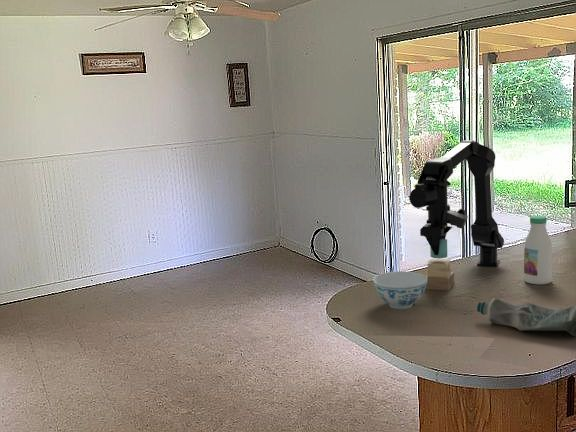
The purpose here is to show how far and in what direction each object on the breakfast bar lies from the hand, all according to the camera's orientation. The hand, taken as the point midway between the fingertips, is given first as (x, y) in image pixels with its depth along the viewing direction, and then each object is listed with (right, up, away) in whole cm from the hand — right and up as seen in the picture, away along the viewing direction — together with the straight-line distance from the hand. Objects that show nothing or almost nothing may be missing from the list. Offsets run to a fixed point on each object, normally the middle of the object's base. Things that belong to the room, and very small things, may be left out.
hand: (438, 252), depth 185 cm
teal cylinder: (0, -1, 0) cm, 1 cm away
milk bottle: (+30, -9, 0) cm, 31 cm away
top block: (0, -7, +1) cm, 7 cm away
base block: (+1, -11, +2) cm, 11 cm away
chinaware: (-14, -14, -13) cm, 24 cm away
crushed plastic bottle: (+14, -17, -34) cm, 41 cm away
